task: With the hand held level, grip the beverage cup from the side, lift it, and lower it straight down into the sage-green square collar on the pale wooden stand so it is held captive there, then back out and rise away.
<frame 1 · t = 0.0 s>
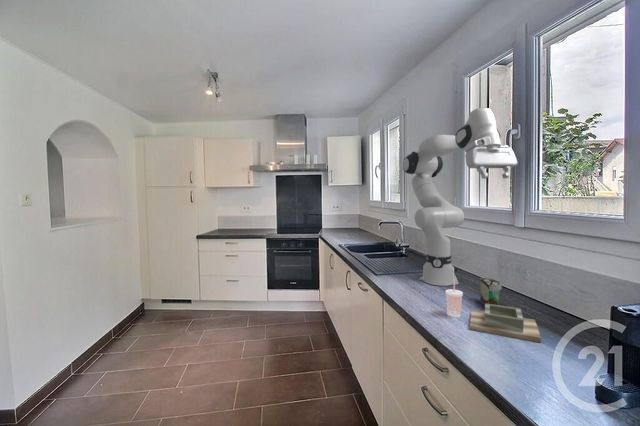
hand: (495, 178, 118), 52 cm above the worktop, tool tilted 20°, fingers open, 8 cm apart
beverage cup: (453, 315, 117), on the worktop
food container: (492, 305, 126), on the worktop
collar stand: (502, 326, 106), on the worktop
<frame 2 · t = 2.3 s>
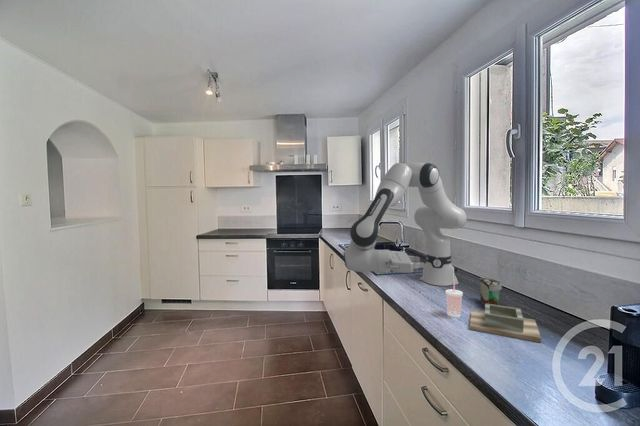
hand: (421, 262, 117), 20 cm above the worktop, tool horizontal, fingers open, 8 cm apart
nothing on the worktop moved.
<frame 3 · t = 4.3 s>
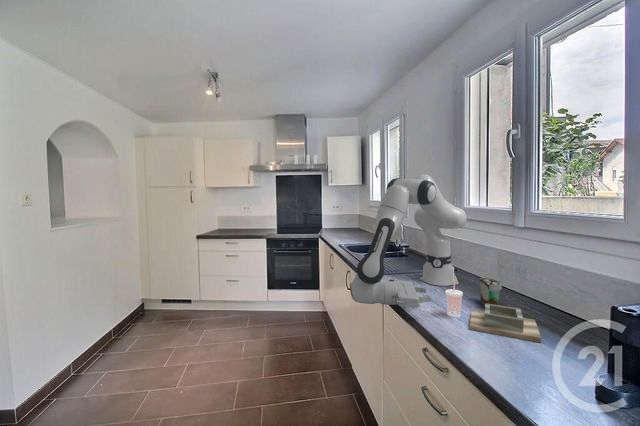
hand: (428, 294, 118), 8 cm above the worktop, tool horizontal, fingers open, 8 cm apart
nothing on the worktop moved.
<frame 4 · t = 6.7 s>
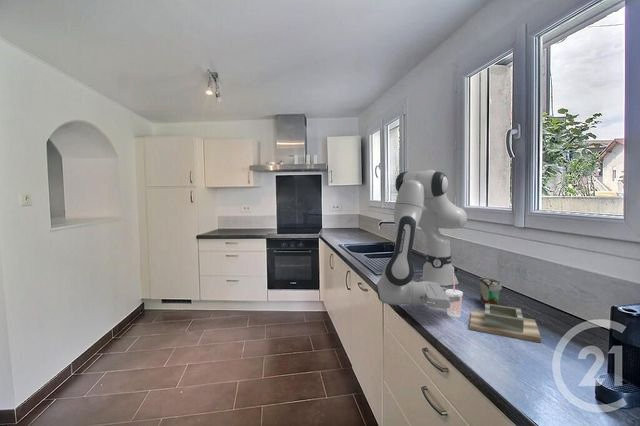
hand: (456, 295, 117), 8 cm above the worktop, tool horizontal, fingers closed on beverage cup, 6 cm apart
beverage cup: (453, 315, 117), on the worktop, touching gripper
everything else where it was.
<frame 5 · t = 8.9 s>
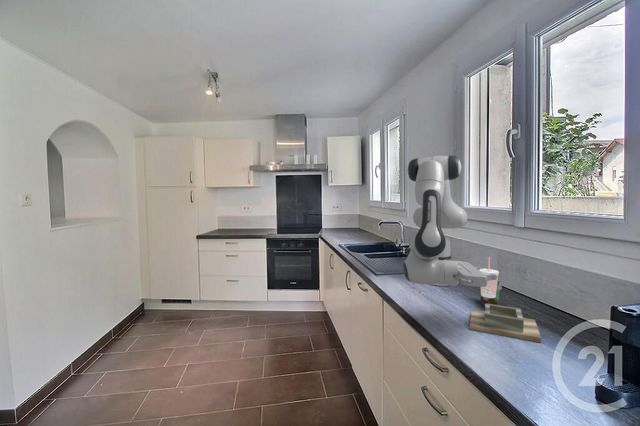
hand: (491, 274, 108), 18 cm above the worktop, tool horizontal, fingers closed on beverage cup, 6 cm apart
beverage cup: (488, 296, 108), point 10 cm above the worktop, touching gripper
everything else where it was.
when the fingers open (11 cm above the worktop, at t = 11.5 s): beverage cup drops 1 cm, resting on collar stand.
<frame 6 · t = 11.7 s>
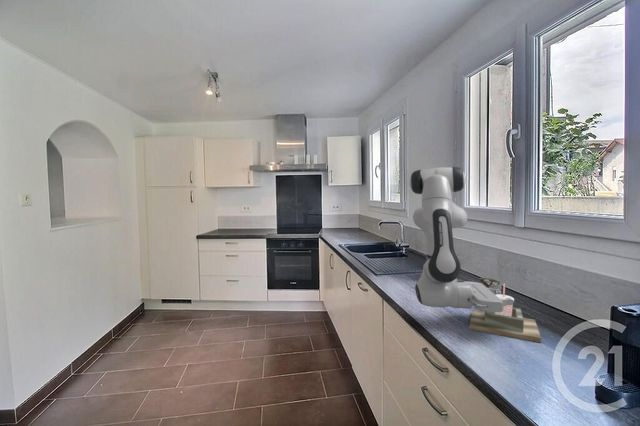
hand: (506, 296, 106), 11 cm above the worktop, tool horizontal, fingers open, 8 cm apart
beverage cup: (502, 323, 106), point 1 cm above the worktop, touching collar stand
everything else where it was.
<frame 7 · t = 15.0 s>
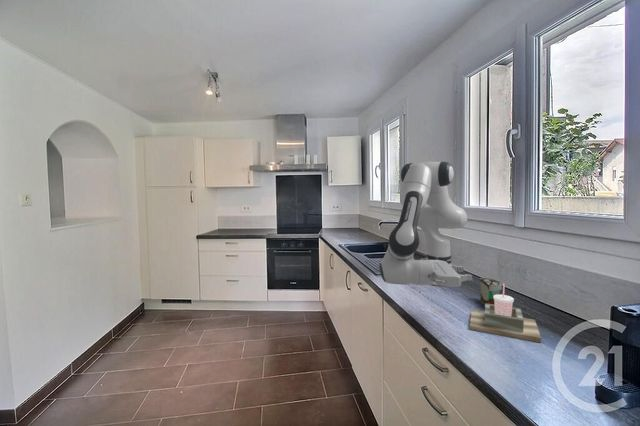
hand: (467, 273, 107), 19 cm above the worktop, tool horizontal, fingers open, 8 cm apart
nothing on the worktop moved.
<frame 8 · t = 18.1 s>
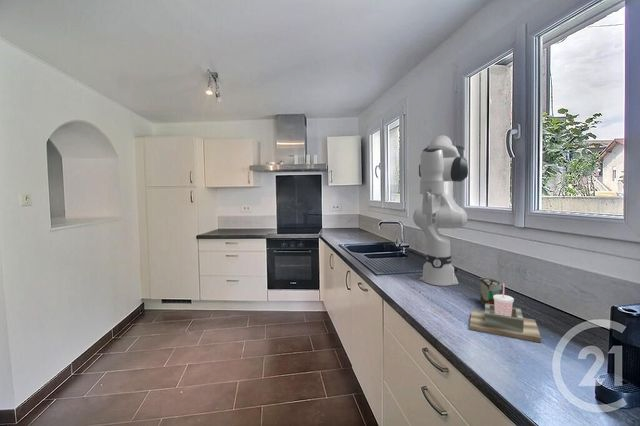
hand: (431, 224, 122), 34 cm above the worktop, tool pointing down, fingers open, 8 cm apart
nothing on the worktop moved.
at the end: beverage cup 0.2 cm off-centre on the collar stand, point 1.3 cm above the collar stand's base; beverage cup tilted 0°; the gripper is holding nothing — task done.
